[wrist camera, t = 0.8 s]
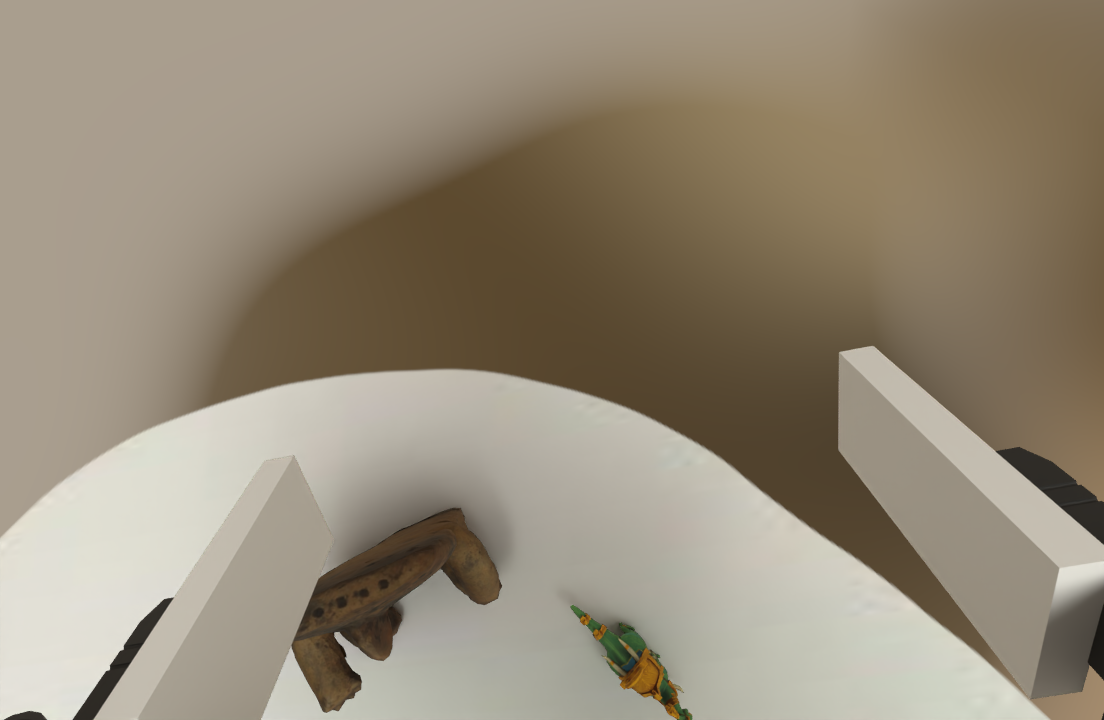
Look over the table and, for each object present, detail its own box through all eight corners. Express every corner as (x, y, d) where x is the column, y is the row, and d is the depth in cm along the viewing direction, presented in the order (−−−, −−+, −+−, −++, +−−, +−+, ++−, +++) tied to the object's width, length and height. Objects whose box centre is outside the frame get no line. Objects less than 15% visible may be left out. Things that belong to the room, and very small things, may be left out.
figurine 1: (373, 659, 48) (246, 817, 28) (327, 571, 49) (172, 663, 29) (521, 570, 49) (500, 661, 29) (473, 485, 50) (421, 517, 30)
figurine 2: (664, 706, 49) (688, 768, 41) (554, 599, 49) (557, 639, 41) (690, 677, 49) (720, 733, 41) (581, 571, 49) (589, 605, 41)
